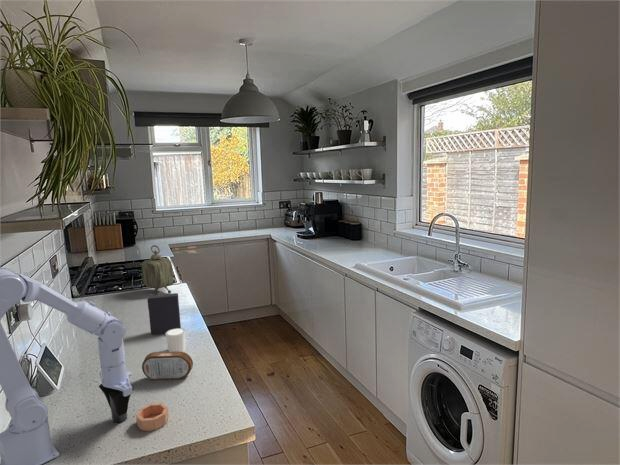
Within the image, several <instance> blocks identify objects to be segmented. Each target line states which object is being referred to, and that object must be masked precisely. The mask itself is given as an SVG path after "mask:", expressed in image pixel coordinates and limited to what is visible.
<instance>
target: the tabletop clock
mask: <svg viewBox="0 0 620 465" xmlns="http://www.w3.org/2000/svg"><path fill="white" fill-rule="evenodd" d="M153 247H155V248H157V250H158V251H157V250H153ZM150 249H151V252H152V253H153V254H152V255H151V256H150V259H145V260H144V261H142V262H141V277H142V281H143V282H142V283H143V285H145V287H149V288H152V289H154V291H153V295H158V293H157V292H158V290H159V289H162V288H164V289H165V290H166V291H167V294H172V291H171V289H169V288H168V287H169V286H172V285H174V271H173V269H174V268H173V264H172V260H170V259H169V258H166V257H162V256H161V255H160V254H159V253H160V252H161V251H160V250H161V249H160V247H159V246H158V245H155V244H154V245H152V246H151V247H150Z"/></svg>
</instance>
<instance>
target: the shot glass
mask: <svg viewBox="0 0 620 465" xmlns="http://www.w3.org/2000/svg"><path fill="white" fill-rule="evenodd" d="M186 331H187V330H186V329H184V328H183V327H181V328H175V329H171V330H169V331H167V332H166V333H164V334H165V338H166V344H167V349H168V352H175V351H181V352H185V351H186V344H187V343H186V337H187V336H186V333H187V332H186Z"/></svg>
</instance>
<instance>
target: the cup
mask: <svg viewBox="0 0 620 465" xmlns="http://www.w3.org/2000/svg"><path fill="white" fill-rule="evenodd" d="M136 413H137V414H136V415H135V417H136V419H135V420H136V425H137V427H138V428H139V430H141V431H143V432H153V431H156V430H159V429H161V428H162V427H164V426H165V425H167V422H168V421H169V416H170V415H169V414H170V413H169V407H168V406H167V405H165V404H164V403H163V402H161V403H160V402H158V403H157V402H156V403H149V404H147V405H146V406H143V407H142V408H139V410H138V412H136Z"/></svg>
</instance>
